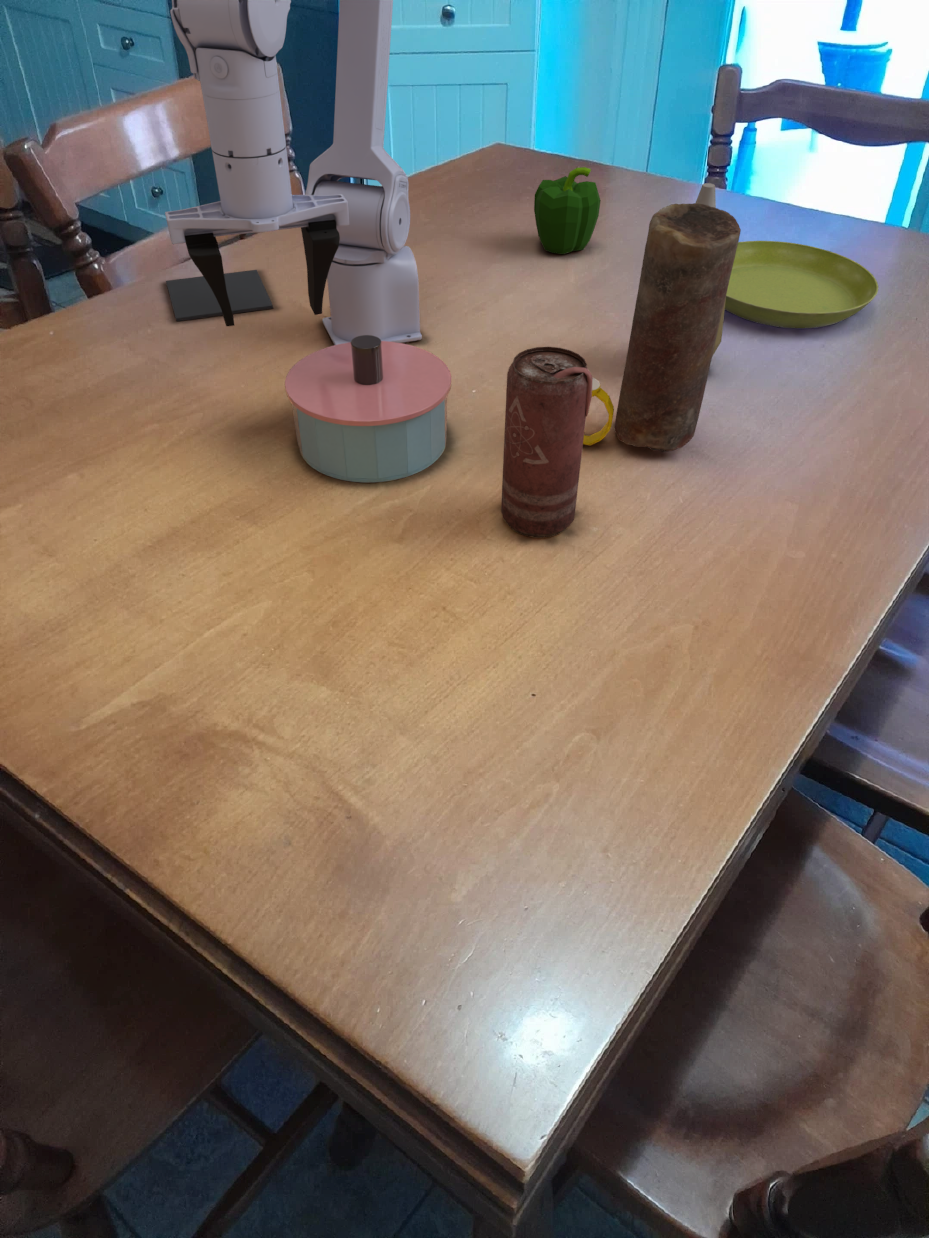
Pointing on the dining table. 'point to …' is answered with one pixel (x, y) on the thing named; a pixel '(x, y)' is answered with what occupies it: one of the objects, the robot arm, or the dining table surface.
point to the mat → (200, 302)
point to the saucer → (796, 285)
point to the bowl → (372, 446)
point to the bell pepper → (566, 212)
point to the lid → (368, 382)
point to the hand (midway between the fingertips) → (273, 315)
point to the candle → (675, 324)
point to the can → (544, 439)
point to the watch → (610, 409)
